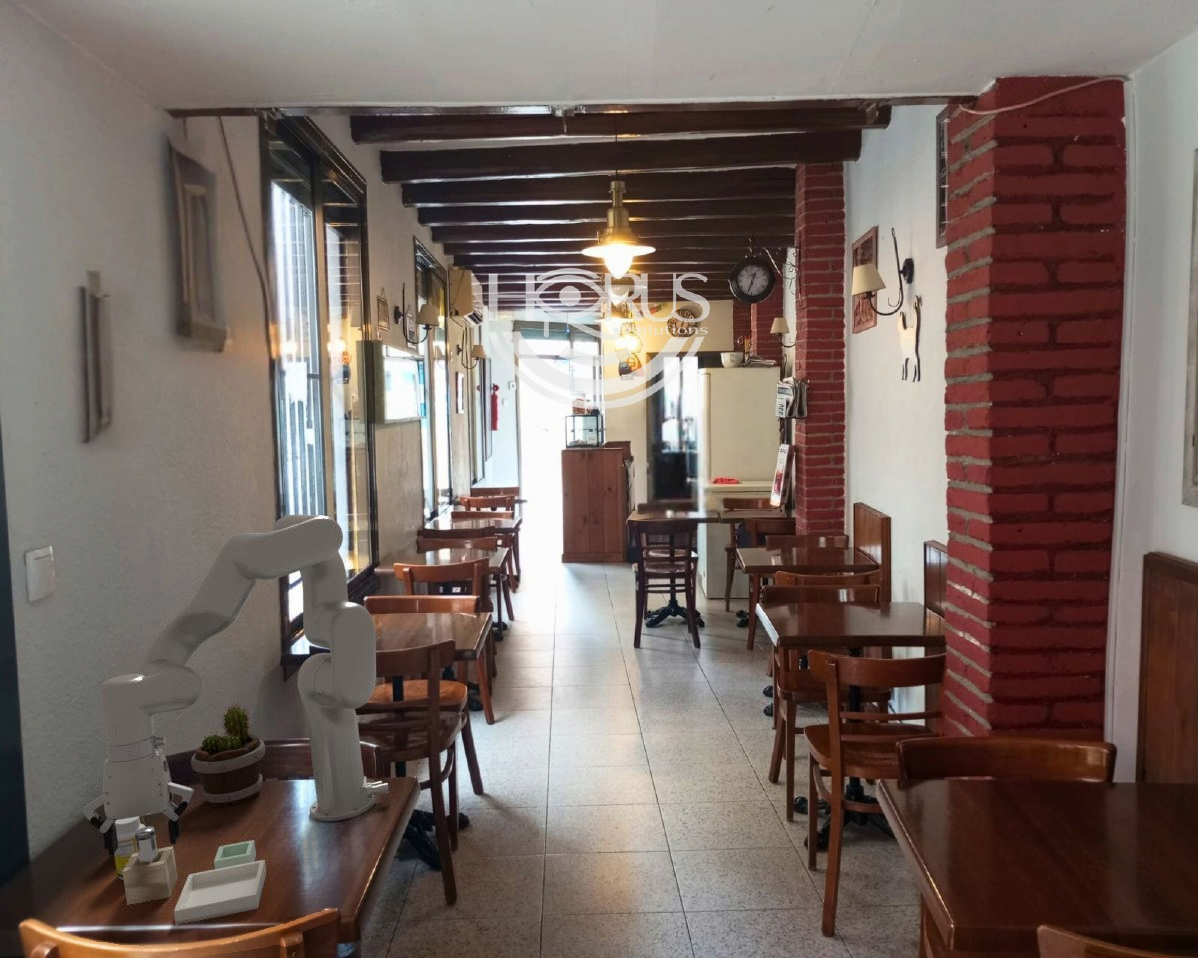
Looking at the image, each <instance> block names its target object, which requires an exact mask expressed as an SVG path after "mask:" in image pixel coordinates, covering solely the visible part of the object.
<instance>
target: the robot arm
mask: <svg viewBox="0 0 1198 958" xmlns="http://www.w3.org/2000/svg"><path fill="white" fill-rule="evenodd" d="M343 541H344V535H343V529H342V527H341V526H340V524H339V523H338V522H337V521H336V520H335V519H334V518H333V517H330V516H327V515H319V514H288V515H285V516H283V517H280V518H279V519H278V520H277V521H275V523H274V525H273V527H272V530H271V531H269V532H239V533H236V534H234V535H232V536H231V537H229V539H228V540H227V541H226V542H225V543H224V545H223V546H222V548H220V551H219V553H218V554H217V556H216V558H215V560H214V561H213V563H212V565H211V567H210V568H209V570H208V572H207V573H206V576H205V577H204V579H203V580H202V583H201V584H200V585H199V588H198V590H196V592H195V594H194V596H192V597H193V598H192V599H191V600H190V602H189V603H188V604H187V605H186V606H185V607H184V608H183V609H182V610H181V611H179V612H178V614H177V615H176V616H175V617H174V618H173V619H172V620H171V621H170V622H169V623H168V624H167V625H166V626H165V627H164V628H163V629H162V630H161V632H160V633H159V634H158V635H157V637H156V638H155V640H154V641H153V643H152V644H151V646H150V648H149V650H148V651H147V652H146V654H145V656H144V657H143V659H142V661H141V663H140V665H139V668H138V669H137V672H136V673H129V674H123V675H117V676H114V677H111V678H108V679H107V680H105V681H103V682H102V684H101V685H100V689H99V697H100V705H101V713H102V714H101V715H102V720H103V728H104V729H103V730H104V736H105V745H106V752H107V753H106V754H107V758H106V759H105V761H104V763H103V765H104V766H103V777H102V779H103V780H102V794H101V795H100V796H98V797H96V798H95V799H93V800H92V801H91V802H90V803H88V804H85V806H84V807H83V808H82V810H81V811H82V814H83V815H84V816H85V818H86V819H87V820H88V821H89V824H90V825H92V826H93V827H95V828H97V829H98V830H99V832H100V833H101V834H102V837H103V842H104V849H105V850H107V851H108V856H113V855H114V853H115V852H116V850H117V848H118V839H117V831H116V826H115V824H114V823H115V821H116V820H119V819H126V818H132V817H138V816H143V817H144V816H148V815H150V816H151V815H154V814H159V813H162V814H164V815H165V816H166V817H167V818H168V819H169V821H168V824H167V825H168V826H167V827H168V834H169V842H170V845H175V844H176V843H177V841H178V839H179V837H181V835H182V826H181V816H182V814H183V813H184V812H185V811H186V810H187V808H188V806H189V804H190V801H191V799H192V796H193V794H194V791H195V790H194V788H191V787H188V786H185V785H183V784H182V785H181V784H178V783H174V782H172V781H173V780H172V778H171V773H170V768H169V764H168V761H167V757H166V754H165V751H164V749H162V748H160V747H161V746H165V745H166V744H167V743H166V742H167V740H166V737H165V736H159V735H158V733H157V732H156V727H155V719H154V717H155V716H154V715H155V714H159V713H166V712H167V713H168V712H176V711H180V710H183V709H187V708H189V707H191V706H192V705H194V704H195V703H196V702H197V701H198V700H199V699H200V697H201V695H202V693H203V690H204V689H203V688H204V683H203V681H204V680H203V679H202V677H201V675H200V674H199V673H198V672H197V671H196V670H195V669H194V668H191V667H188V666H187V663H188V662H189V660H190V659H191V657H192V655H193V654H194V653H195V652H196V651H197V650H198V649H199V647H200V646H201V645H202V644H203V643H205V641H207V640H208V639H210V638H212V637H213V636H215V635H217V634H219V633H221V632H223V631H226V629H228V628H229V627H231V626H232V625H234V624H235V623H236V621H237V620H238V618H239V617H240V615H241V613H242V612H243V610H244V607H245V605H246V604H247V602H248V600H249V598H250V597H251V595H252V593H253V591H254V589H255V588H256V586H257V584H258V582H259V581H270V580H276V579H279V578H282V577H286V576H288V575H292V574H293V573H296V572H299V574H300V577H301V584H302V585H301V586H302V611H303V612H302V614H303V615H302V617H303V619H302V620H303V621H302V622H303V623H302V624H303V627H302V628H303V633H304V636H305V639H306V640H307V641H308V642H309V643H310V644H312V645H314V646H316V647H320V648H324V649H329V650H330V652H322V653H321V652H320V653H316V654H313V655H311V656H310V657H308V658H306V659H305V661H303V663H302V664H301V667H300V668H299V670H298V674H297V687H298V692H299V696H300V699H301V702H302V705H303V709H304V712H305V719H306V724H307V731H308V739H309V740H308V741H309V747H310V755H311V764H312V772H313V778H314V789H315V794H316V795H315V796H316V800H315V801H314V802H313V803H312V804H311V806H310V808H309V813H310V817H311V818H312V819H315V820H317V821H321V822H337V821H343V820H348V819H350V818H354V817H357V816H360V815H361V814H363V813H365V812H367V811H368V810H369V809H371V808H372V807H373V805H375V802H376V801H375V796H376V795H384V794H389V792H390V791H389V784H388V783H383V781H382V780H380V781H375V782H371V781H369V782H368V779H367V776H365V775H364V767H363V760H362V759H363V758H362V749H361V741H360V734H359V724H358V723H359V722H358V718H357V713H356V712H357V711H356V709H358V708H360V707H362V706H364V705H366V703H367V702H368V701H369V700H370V699H371V697H372V696H373V694H374V691H375V687H376V681H377V653H376V652H377V650H376V649H377V645H376V643H377V642H376V637H377V636H376V626H375V622H374V619H373V617H372V615H371V613H370V612H369V611H368V609H367V608H366V607H364V606H363V605H361V604H359V603H357V602H353V601H352V602H351V601H349V597H348V596H349V595H348V594H349V593H348V584H347V583H348V582H347V570H346V566H345V563H344V561H343V558H342V556H341V554H340V552H339V551H340V548H341V547H342V545H343ZM174 795H178V796H180V797H182V799H181V802H180V803H179V804H177V805H176V804H175V803H174V802H173V800H174V798H175V797H174ZM102 805H103V810H104V815H105V817H103V816H102V815H101V814H99V813H97V811H96V809H98V808H99V807H101V806H102Z"/></svg>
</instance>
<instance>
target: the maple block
mask: <svg viewBox="0 0 1198 958" xmlns="http://www.w3.org/2000/svg"><path fill="white" fill-rule="evenodd" d="M157 852H158V859H159V862H154V863H149V864H144V865H139V860H138V853H134V854H132V856H131V857H130V859H129V861H128V863H127V864H126V866H125V868H124V870H123V878H124V880H123V883H124V891H125V898H126V905H129V904H134V903H139V904H143V903H142V902H144V901H149V902H151V901H150V900H154V901H158V899H159V900H164V899H168V898H171V896H172V893H173V891H174V888H175V886H176V884H177V881H178V879H179V878H178V871H177V863H176V857H175V851H174V845H172V846H166V847H162V848H161V847H160V848H157ZM144 903H145V902H144ZM134 905H135V904H134ZM129 906H130V905H129Z"/></svg>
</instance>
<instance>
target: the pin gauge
mask: <svg viewBox="0 0 1198 958" xmlns="http://www.w3.org/2000/svg"><path fill="white" fill-rule="evenodd" d="M135 839H136V845H137V852H138V860H139V865H144V864H149V863H154V862H159V859H158V852H157V849H158V846H157V838H156V829H155V827H154V826H151V825H150V826H146V827H144V828H141V829H139V830H137V831H136V832H135Z"/></svg>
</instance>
